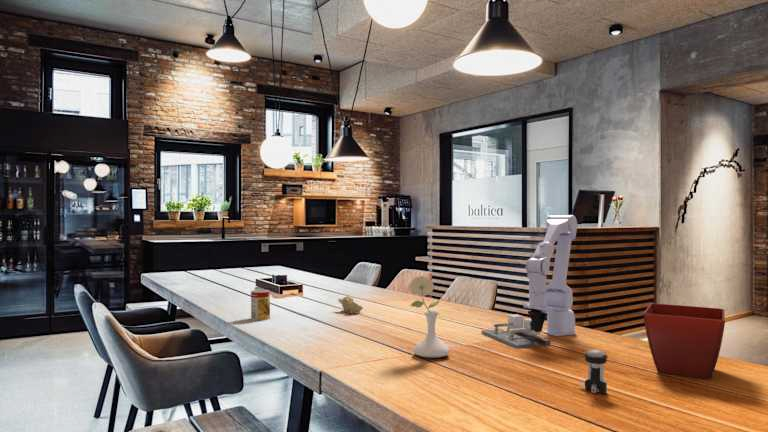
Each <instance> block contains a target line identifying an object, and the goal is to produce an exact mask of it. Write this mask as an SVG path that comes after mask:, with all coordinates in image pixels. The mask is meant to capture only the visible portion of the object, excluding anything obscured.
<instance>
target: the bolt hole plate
mask: <svg viewBox="0 0 768 432" xmlns="http://www.w3.org/2000/svg"><path fill="white" fill-rule="evenodd" d="M481 334H482V335H485V336H486V337H490V338H492V339H493V340H496V341H499V342H502V343H504V344H506V345H508V346H511V347H513V348H515V349H522V348H523V349H524V348H532V347H533V348H534V347H538V346H539V343H538V342H535V341H532V340H530V339H527V338H524V337H522V336H519V335H516V334H514V337H511V333H509V332H508V331H506V330H504V329H502V328H498V331H496V330H495V329H485V330H481Z"/></svg>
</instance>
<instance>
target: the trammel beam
mask: <svg viewBox="0 0 768 432" xmlns="http://www.w3.org/2000/svg"><path fill="white" fill-rule="evenodd" d="M506 327H507V332H509V329H508V326H506ZM514 334H515V335H518V336H520V337H523V338H525V339H528V340H531V341H533V342H536V343H538V344H541V345H544V346H552V344H551V340H550V339H547V338H545V337H542V336H540V335H533V336H530V335H527V334H524V332H516V333H514Z"/></svg>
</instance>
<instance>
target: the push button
mask: <svg viewBox="0 0 768 432" xmlns="http://www.w3.org/2000/svg"><path fill="white" fill-rule="evenodd" d="M584 359H585V362H587V364H588V365H587V366H588V367H587V371H588V372H587V374H588V375H587V379H585V381H584V382H583V381H579V384H583V385H579V387H580V388H584V389H585V391H587V392H590V393H595V394H600V395H601V396H603V395H605V394H607V392H608V383H607V381H606V380H605V377H604V375H605V374H604V373H605V372H604V370H605V369H604V365H605V364H606V363H607V360H608V355H607V354H604V351H603V350H600V349H588V350H587V352H586V353H584Z"/></svg>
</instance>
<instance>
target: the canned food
mask: <svg viewBox="0 0 768 432" xmlns="http://www.w3.org/2000/svg"><path fill="white" fill-rule="evenodd" d="M270 293H271V291H270V289H254V290H251V291H250V319H251V320H252V321H255V322H256V321H259V322H260V321H268V320H270V318H271V298H270V297H271V295H270Z"/></svg>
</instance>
